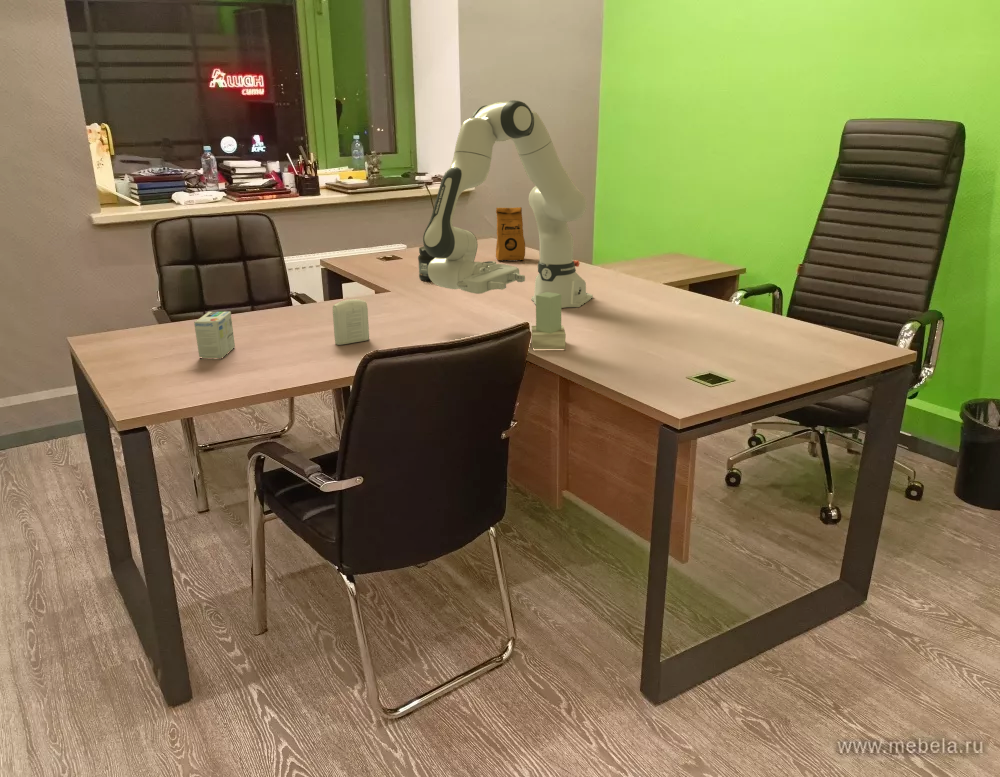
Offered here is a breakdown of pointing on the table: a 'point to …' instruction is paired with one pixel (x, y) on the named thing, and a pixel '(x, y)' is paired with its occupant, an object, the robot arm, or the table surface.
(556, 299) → the green block
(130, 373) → the table surface
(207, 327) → the light bulb box
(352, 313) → the photo printer
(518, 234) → the coffee package
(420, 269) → the supplement container
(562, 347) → the base block
